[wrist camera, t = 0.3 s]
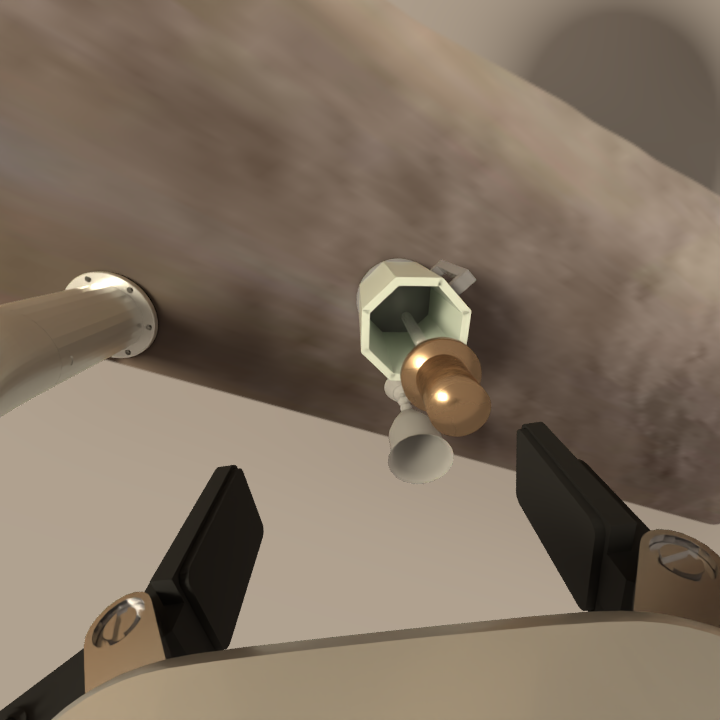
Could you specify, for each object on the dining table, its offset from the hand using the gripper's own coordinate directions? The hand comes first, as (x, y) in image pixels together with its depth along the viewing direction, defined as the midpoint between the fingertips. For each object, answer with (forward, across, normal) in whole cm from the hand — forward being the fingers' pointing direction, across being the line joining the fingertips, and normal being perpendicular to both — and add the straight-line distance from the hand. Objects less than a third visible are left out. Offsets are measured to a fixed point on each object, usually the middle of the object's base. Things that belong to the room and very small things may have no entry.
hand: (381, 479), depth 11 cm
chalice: (+40, -3, +17) cm, 43 cm away
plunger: (+29, -4, +3) cm, 30 cm away
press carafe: (+39, -4, +3) cm, 40 cm away
